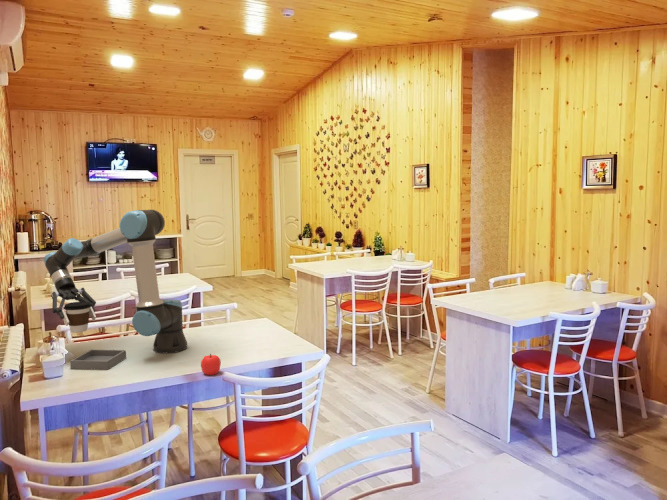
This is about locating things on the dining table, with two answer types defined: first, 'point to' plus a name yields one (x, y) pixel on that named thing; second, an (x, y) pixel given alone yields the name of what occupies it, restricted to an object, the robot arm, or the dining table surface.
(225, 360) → the dining table surface
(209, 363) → the apple
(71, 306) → the coffee cup
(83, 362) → the holder tray
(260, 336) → the dining table surface
